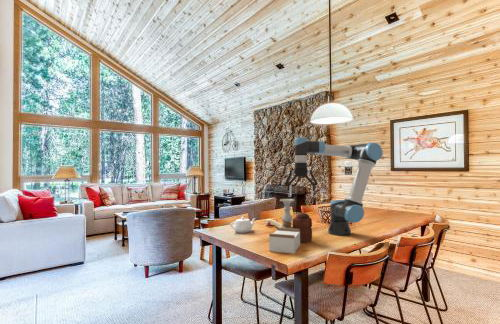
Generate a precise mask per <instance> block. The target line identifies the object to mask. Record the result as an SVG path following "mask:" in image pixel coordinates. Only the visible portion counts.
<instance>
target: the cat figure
mask: <svg viewBox="0 0 500 324" xmlns="http://www.w3.org/2000/svg"><path fill="white" fill-rule="evenodd" d="M283 223H284V221H283V220H282V223H281V222H279V221H278V219H274V220H273V219H271V218H266V219H265V220H264V222H263V225H265V226H268V227H269V228H271V225H272V226H275V227H276V228H277V227H278V228H282V227H283V226H284V225H283Z"/></svg>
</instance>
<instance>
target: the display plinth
mask: <svg viewBox="0 0 500 324" xmlns="http://www.w3.org/2000/svg"><path fill="white" fill-rule="evenodd" d="M268 234H269V237H268V243H269V244H268V246H269V247H268V251H269V252H273V253H274V252H275V253H285V254H295V253H296V252H297V250H298V249H299V247H300V246H301V243H300V229H293V228H279V227H277V226H276V230H275V231H274V232H272V233H268Z"/></svg>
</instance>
